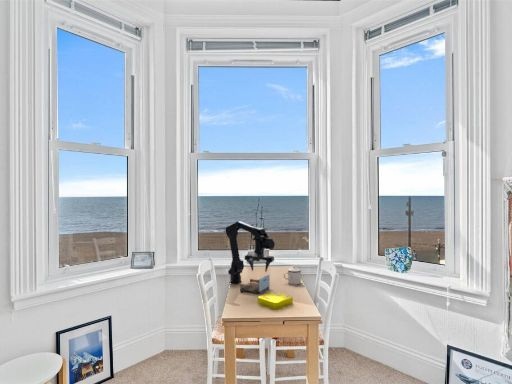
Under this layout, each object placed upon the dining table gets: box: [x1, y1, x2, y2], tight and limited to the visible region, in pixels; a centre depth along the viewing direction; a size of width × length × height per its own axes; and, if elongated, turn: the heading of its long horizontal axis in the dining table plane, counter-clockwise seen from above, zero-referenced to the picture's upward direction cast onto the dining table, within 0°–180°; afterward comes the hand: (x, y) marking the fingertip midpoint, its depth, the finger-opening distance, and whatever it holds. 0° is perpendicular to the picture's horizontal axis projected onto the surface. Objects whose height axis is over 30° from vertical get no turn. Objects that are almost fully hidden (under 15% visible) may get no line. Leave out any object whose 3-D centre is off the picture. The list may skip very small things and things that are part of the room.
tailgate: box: [258, 273, 271, 293], centre depth 204 cm, size 1×14×8 cm, turn 153°
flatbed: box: [239, 278, 270, 295], centre depth 207 cm, size 14×17×4 cm
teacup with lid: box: [283, 265, 302, 285], centre depth 222 cm, size 12×9×12 cm
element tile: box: [257, 290, 294, 311], centre depth 180 cm, size 15×15×5 cm
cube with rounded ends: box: [248, 281, 259, 286], centre depth 203 cm, size 7×3×3 cm, turn 63°
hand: (259, 271), depth 210 cm, fingers open, 9 cm apart
